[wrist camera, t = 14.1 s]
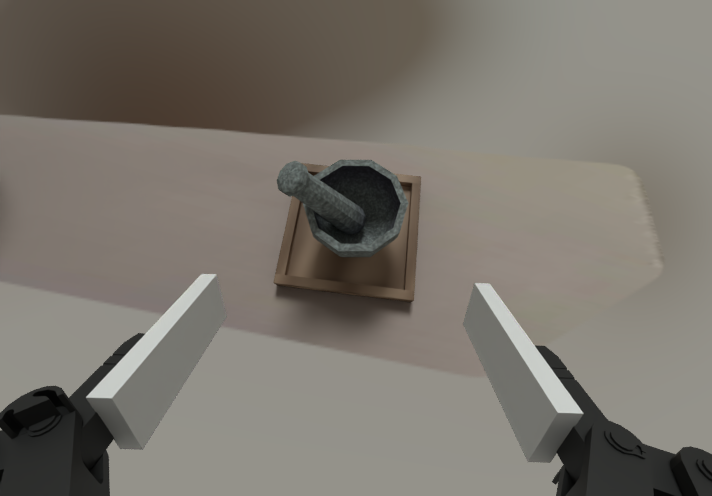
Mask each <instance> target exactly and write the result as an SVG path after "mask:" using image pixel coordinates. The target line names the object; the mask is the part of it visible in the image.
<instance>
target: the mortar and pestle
mask: <svg viewBox="0 0 712 496" xmlns="http://www.w3.org/2000/svg"><path fill="white" fill-rule="evenodd" d="M277 184H278V189H279V190H280V191H281V192H283V193H285V194H286V195H288V196H294V197H296V198H297V199H298V200H300V201H301V202H302V203H303V205H304V209H305V212H306V215H307V219H308V222H309V226H310V229H311V232H312V235H313V237H314V238H315V239H316V240H317V241H319V242H320V243H322V244H323V245H324V246H326V247H327V248H329V249H330V250H331V251H333V252H334V253H336V254H337V255H338V256H340V257H371V256H373V255H374V254H375V253H377V252H378V251H380V250H381V249H382V248H384V247H385V246H387V245H388V244H390V243H391V242H392V241H394V240H395V239H396V238H397V237H398V235H399V233H400V230H401V226H402V223H403V220H404V216H405V213H406V210H407V206H408V201H407V199H406V196H405V194H404V192H403V189H402V187H401V184H400V182H399V180H398V177H397V176H396V175H395V174H393V173H391V172H390V171H388V170H386V169H385V168H383V167H382V166H380V165H378V164H377V163H375V162H374V161H372V160H339V161H337V162H336V163H334V164H332V165H331V166H329V167H328V168H326V169H324V170H323V171H321V172H319V173H318V174H316V175H314V176H313V175H311V174H310V173H308V170H307V167H306V166H305V165H303V164H302V163H299V162H297V161H293V162H290V163H288V164H286V165H285V166H284V168H283V169H282V170H281V171H280V173H279V176H278V179H277Z"/></svg>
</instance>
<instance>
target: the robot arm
mask: <svg viewBox="0 0 712 496" xmlns="http://www.w3.org/2000/svg"><path fill="white" fill-rule="evenodd" d="M226 317H227V314H226V310H225V306H224V302H223V298H222V294H221V290H220V286H219V282H218V277H217V274H201V275H200V276H199V277H198V278H197V280H196V281H195V282H194V283H193V284H192V285H191V286H190V287H189V288H188V289H187V290H186V291H185V292H184V293H183V294H182V295H181V297H180V298H179V299H178V300H177V301H176V302H175V303H174V304H173V305H172V306H171V307H170V308H169V309H168V310H167V311H166V313H165V314H164V315H163V316H162V317H161V318H160V319H159V320H158V321H157V322H156V323H155V324H154V325H153V326H152V328H151V329H150V330H149V331H148V332H147V333H146V334H141V333H138V334H137V335H135V336H134V337H132V338H130V339H129V340H127V341H126V342H124V343H123V344H122V345H121V346H120V347H119V348H118V349H117V350H116V351H115V352H114V353H113V355H112V356H110V357H109V358H108V359H107V360H106V361H105V362H104V364H103V366H100V367H99V368H98V369H97V370H96V371H95V372H94V373H93V374H92V375H91V376H90V377H89V378H88V379H87V381H85V382H84V383H83V384H82V385H81V386H80V387H79V388H78V389H77V390H76V391H75V392H74V393H73V394H72V396H70V397H69V398H68V397H67V395H66V394H65V393H64V391H63V390H62V388H59V387H57V386H46V387H43V388H40V389H36V390H33V391H31V392H29V393H27V394H25V395H23V396H21V397H20V398H18V399H17V400H15V401H14V402H12V403H11V404H9V405H8V406H7V407H6V408H5V409H4V410H3V411H2V412H1V413H0V428H1V429H2V431H0V496H110V491H109V490H110V489H109V457H108V453H107V451H106V449H107V447H108V446H109V444H110V443H111V442H112V440H113V439H114V440H115V442H116V443H117V445H118V446H119V448H120V449H143V448H144V447H145V445H146V443H147V442H148V440H149V439H150V437H151V436H152V434H153V433H154V431H155V429H156V428H157V426H158V425H159V423H160V421H161V420H162V418H163V417H164V415H165V413H166V412H167V410H168V409H169V407H170V405H171V404H172V402H173V401H174V399H175V398H176V396H177V395H178V393H179V391H180V390H181V388H182V387H183V385H184V383H185V382H186V380H187V379H188V377H189V375H190V374H191V372H192V371H193V369H194V367H195V366H196V364H197V363H198V361H199V360H200V358H201V357H202V355H203V353H204V352H205V350H206V349H207V347H208V345H209V344H210V342H211V341H212V339H213V337H214V336H215V334H216V333H217V331H218V330H219V328H220V326H221V325H222V323H223V322H224V320H225V319H226ZM463 325H464V327H465V329H466V331H467V333H468V336H469V338H470V340H471V342H472V344H473V346H474V348H475V350H476V353H477V355H478V357H479V359H480V361H481V363H482V365H483V368H484V370H485V372H486V374H487V376H488V378H489V380H490V382H491V385H492V387H493V389H494V391H495V393H496V395H497V397H498V399H499V402H500V404H501V406H502V408H503V410H504V412H505V414H506V416H507V419H508V421H509V423H510V425H511V427H512V429H513V431H514V433H515V436H516V438H517V440H518V442H519V444H520V446H521V448H522V451H523V453H524V455H525V457H526V459H527V461H528V462H548V463H550V462H551V461H552V459H553V458H554V456H555V455H556V453H557V454H558V456H559V457H560V459H561V461H562V463H563V464H564V465H563V466H562V468H561V469H560V471H559V472H558V473H557V474H556V476H555V477H554V479H553V481H552V482H553V483H554V484H557V482H558V481H559V482H558V488H557V494H556V496H712V454H710V453H708V452H706V451H704V450H701V449H698V448H693V447H683V448H682V449H681V450H680V451H679V452H678V453H677V454H672V453H669V452H666V451H663V450H660V449H657V448H654V447H651V446H647V445H645V444H642V442H641V441H640V440H639V439H637V437H636V436H634V435H633V434H632V433H631V432H630V431H628V430H627V429H625V428H623V427H622V426H621V425H618V424H616V423H613V422H611V421H608V420H607V419H606V417H605V416H604V415H603V413H602V412H601V411H600V410H599V409H598V407H597V406H596V405H595V403H594V402H593V401H592V400H591V398H590V397H589V396H588V394H587V393H586V392H585V391H584V389H583V388H582V387H581V385H580V384H579V383H578V382H577V381H576V380H575V379H574V377H573V375H572V374H571V373H570V371H569V370H567V368H566V366H565V365H564V364H563V363H562V362H561V360H560V359H559V357H558V356H557V355H555V354H554V353H553V352H552V351H550V350H549V349H548V348H547V347H545V346H534V344H533V343H532V341H531V340H530V339H529V337H528V336H527V335H526V333H525V332H524V330H523V329H522V328H521V326H520V325H519V324H518V322H517V321H516V319H515V318H514V317H513V315H512V314H511V312H510V311H509V310H508V308H507V307H506V306H505V304H504V303H503V301H502V300H501V299H500V297H499V296H498V295H497V293H496V292H495V290H494V289H493V288H492V286H491V285H490V284H489V283H474V287H473V290H472V294H471V297H470V301H469V305H468V308H467V312H466V315H465V319H464V322H463Z"/></svg>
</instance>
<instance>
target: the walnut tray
mask: <svg viewBox="0 0 712 496" xmlns="http://www.w3.org/2000/svg"><path fill="white" fill-rule="evenodd" d="M302 164H303V165H305V166H306V167H307V170H308V173H310V174H311V175H313V176H314V175H316V174H318V173H319V172H321V171H323V170H324V169H326V168H328V167H329V166H322V165H313V164H304V163H302ZM395 175H396V176H397V177H398V180H399V182H400V184H401V187H402V189H403V192H404V194H405V196H406V199H407V201H408V206H407V210H406V213H405V216H404V220H403V223H402V226H401V230H400V233H399V235H398V237H397V238H396V239H395V240H394V241H392V242H391V243H390V244H388V245H387V246H385V247H384V248H382V249H381V250H380V251H378V252H377V253H375V254H374V255H373V256H371V257H340V256H338V255H337V254H336V253H334V252H333V251H331V250H330V249H329V248H327V247H326V246H324V245H323V244H322V243H320V242H319V241H317V240H316V239H315V238H314V237H313V235H312V232H311V229H310V226H309V222H308V219H307V215H306V212H305V209H304V205H303V203H302V202H301V201H300V200H298V199H297V198H296V197H294V196H292V199H291V204H290V209H289V213H288V218H287V223H286V227H285V232H284V236H283V241H282V246H281V250H280V255H279V260H278V264H277V269H276V273H275V278H274V284H276V285H279V286H287V287H295V288H303V289H311V290H319V291H327V292H335V293H343V294H351V295H359V296H367V297H375V298H383V299H391V300H399V301H407V302H412V301H414V288H415V271H416V254H417V237H418V220H419V203H420V186H421V177H420V176H411V175H402V174H395Z"/></svg>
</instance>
